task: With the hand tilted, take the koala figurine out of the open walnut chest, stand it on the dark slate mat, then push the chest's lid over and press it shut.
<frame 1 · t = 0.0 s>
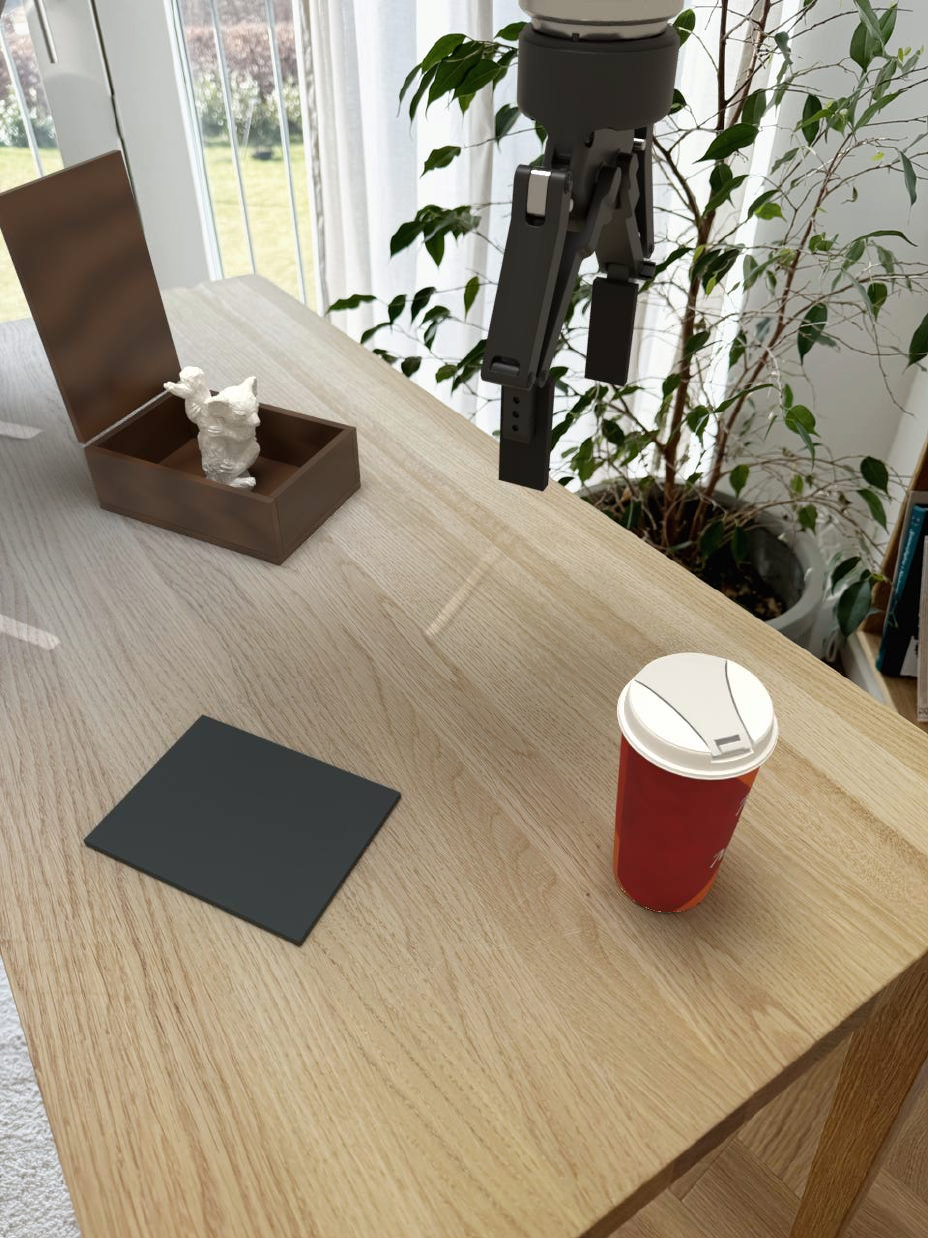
hand: (567, 427, 59), 21 cm above the table, tool pointing down, fingers open, 13 cm apart
chest: (232, 496, 90), on the table
mat: (246, 820, 62), on the table
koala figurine: (231, 490, 90), point 1 cm above the table, touching chest
coffee cup: (660, 872, 59), on the table
beverage can: (139, 389, 106), on the table
chest lid: (99, 299, 83), point 17 cm above the table, hinge at 95.0°
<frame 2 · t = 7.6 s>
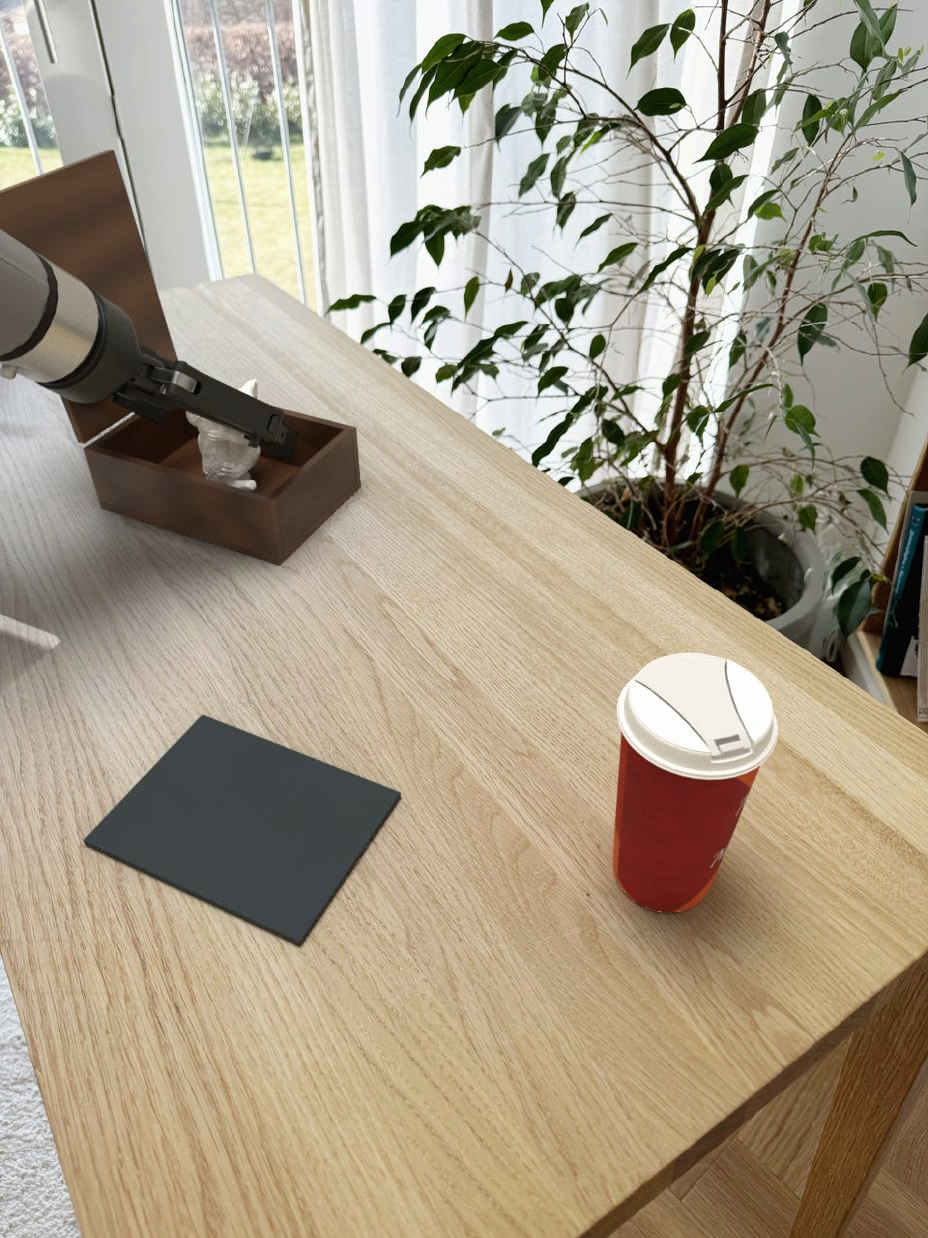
hand: (227, 428, 86), 7 cm above the table, tool tilted 45°, fingers open, 13 cm apart
chest lid: (95, 299, 83), point 17 cm above the table, hinge at 97.1°
everything else where it was.
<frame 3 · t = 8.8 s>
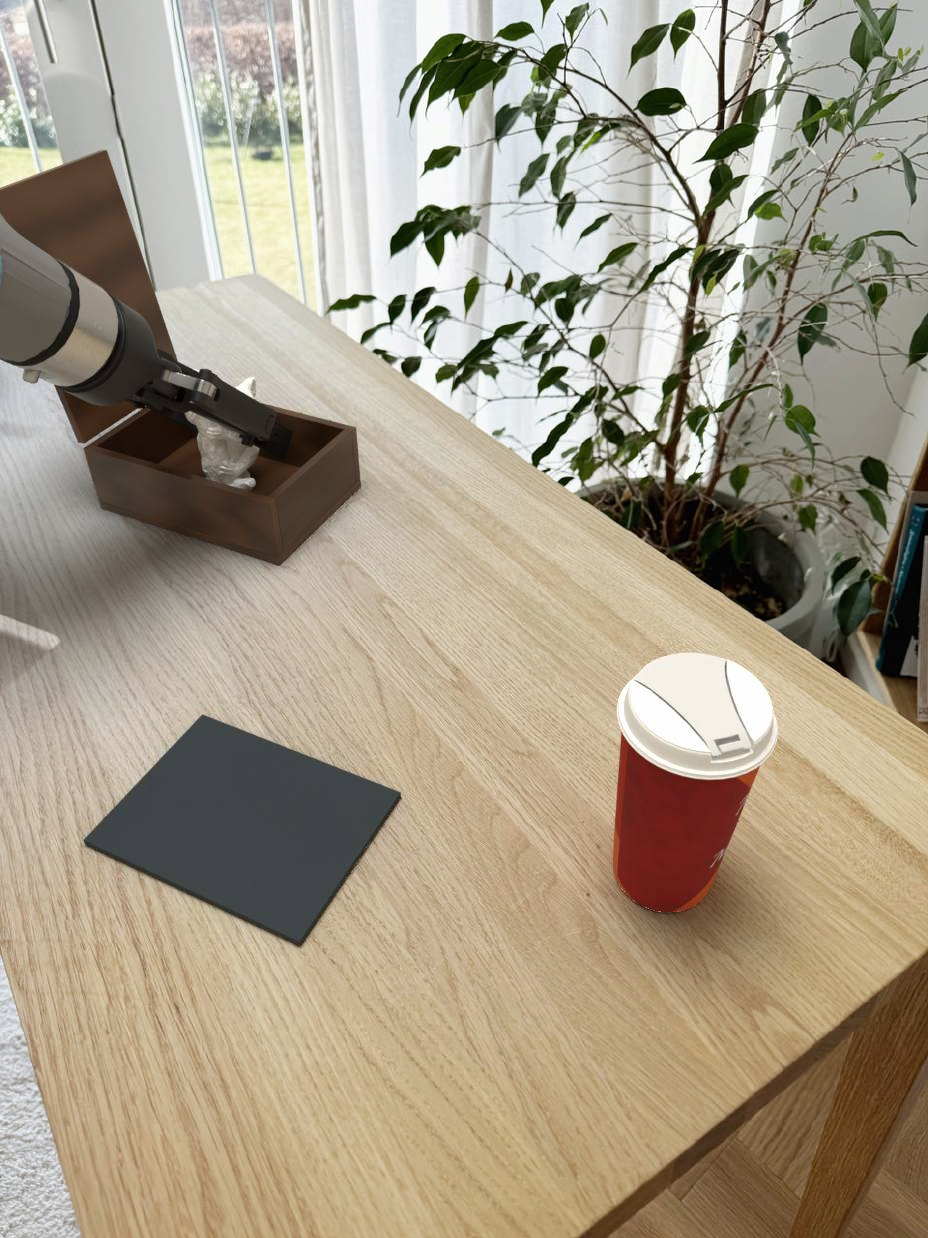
hand: (250, 435, 89), 5 cm above the table, tool tilted 45°, fingers closed on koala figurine, 7 cm apart
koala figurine: (231, 490, 90), point 1 cm above the table, touching chest, gripper
chest lid: (92, 299, 83), point 17 cm above the table, hinge at 99.3°
everything else where it was.
when the fingers open (4 cm above the table, at t = 20.3 s): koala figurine stays where it is, resting on mat.
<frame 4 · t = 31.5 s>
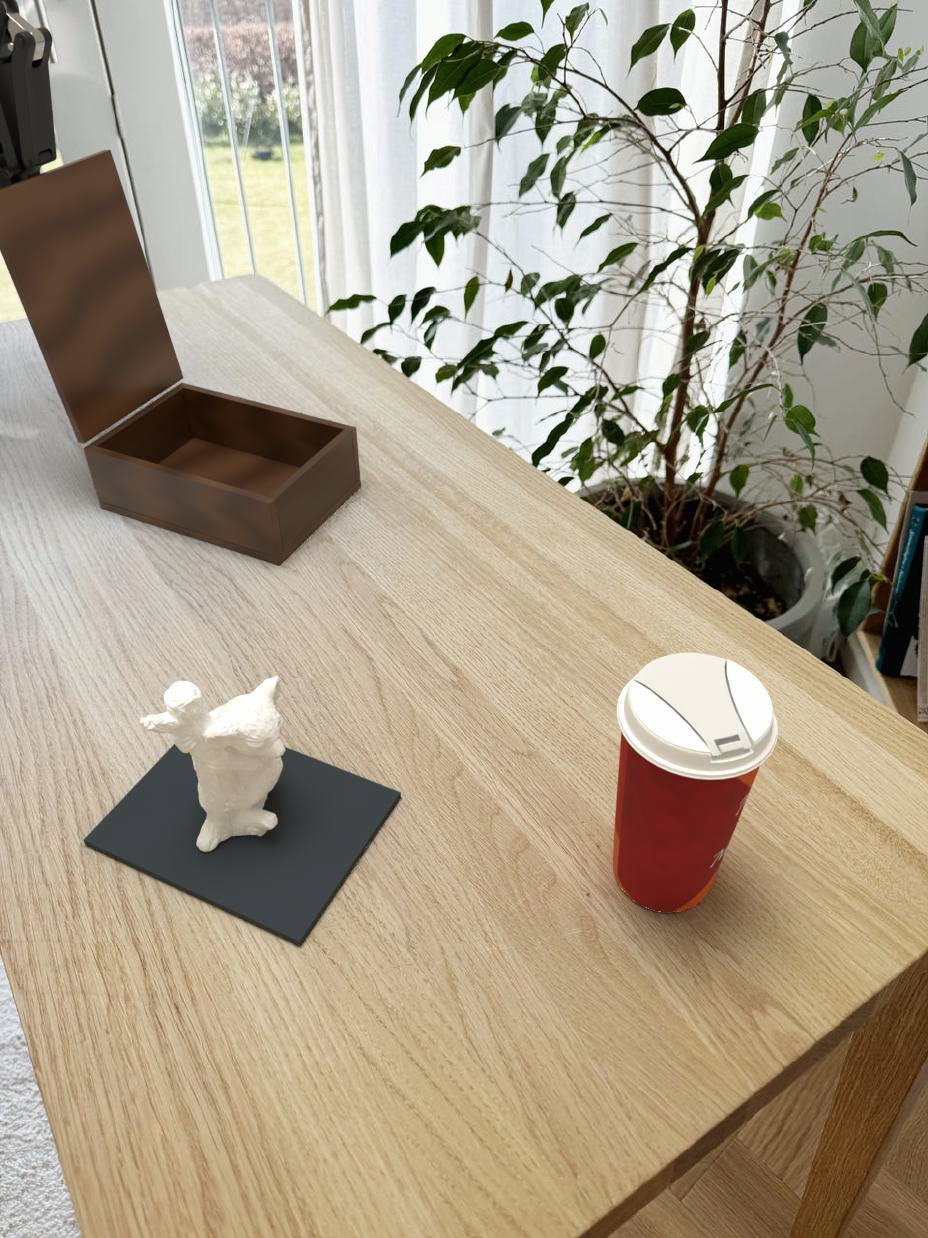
hand: (38, 250, 82), 20 cm above the table, tool pointing down, fingers closed
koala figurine: (240, 816, 62), resting on mat
chest lid: (94, 299, 83), point 17 cm above the table, hinge at 98.1°, touching gripper
everything else where it was.
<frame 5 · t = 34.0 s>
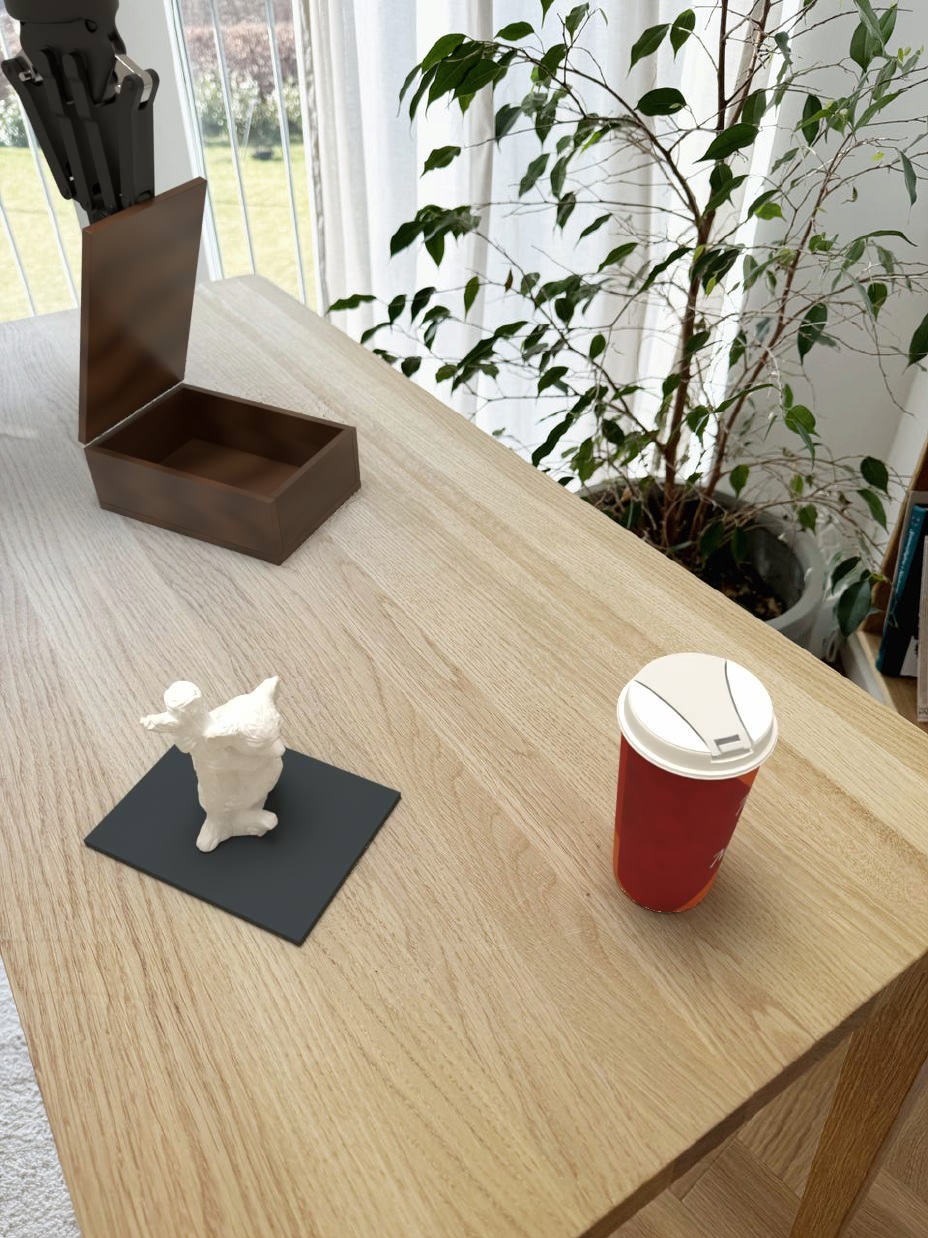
hand: (129, 290, 80), 18 cm above the table, tool pointing down, fingers closed
chest lid: (140, 315, 82), point 16 cm above the table, hinge at 70.3°
everything else where it was.
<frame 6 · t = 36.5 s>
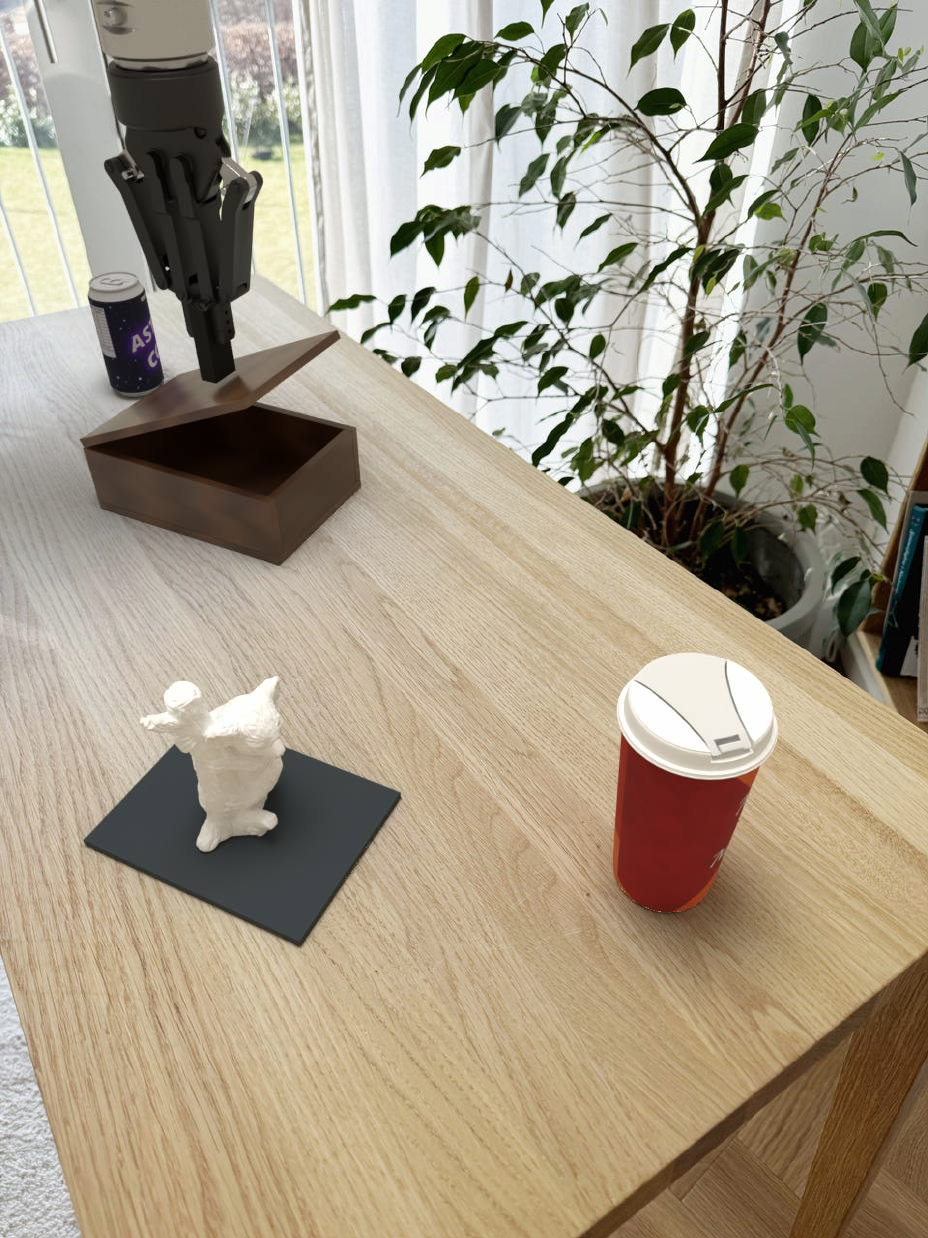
hand: (218, 374, 82), 13 cm above the table, tool pointing down, fingers closed
chest lid: (208, 389, 83), point 11 cm above the table, hinge at 23.8°, touching gripper
everything else where it was.
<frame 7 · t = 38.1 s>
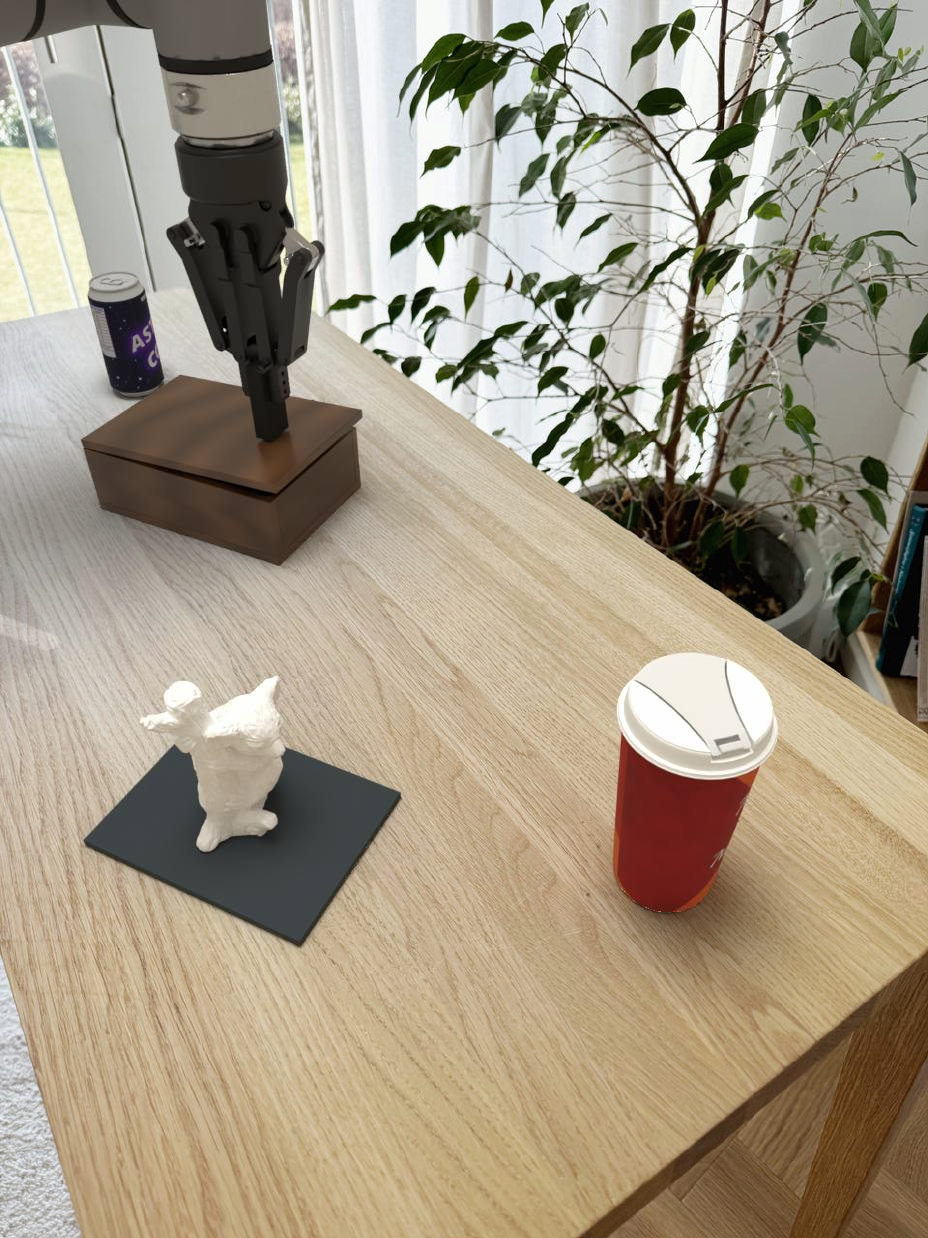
hand: (272, 431, 83), 8 cm above the table, tool pointing down, fingers closed
chest lid: (223, 428, 85), point 7 cm above the table, hinge at 3.1°, touching gripper
everything else where it was.
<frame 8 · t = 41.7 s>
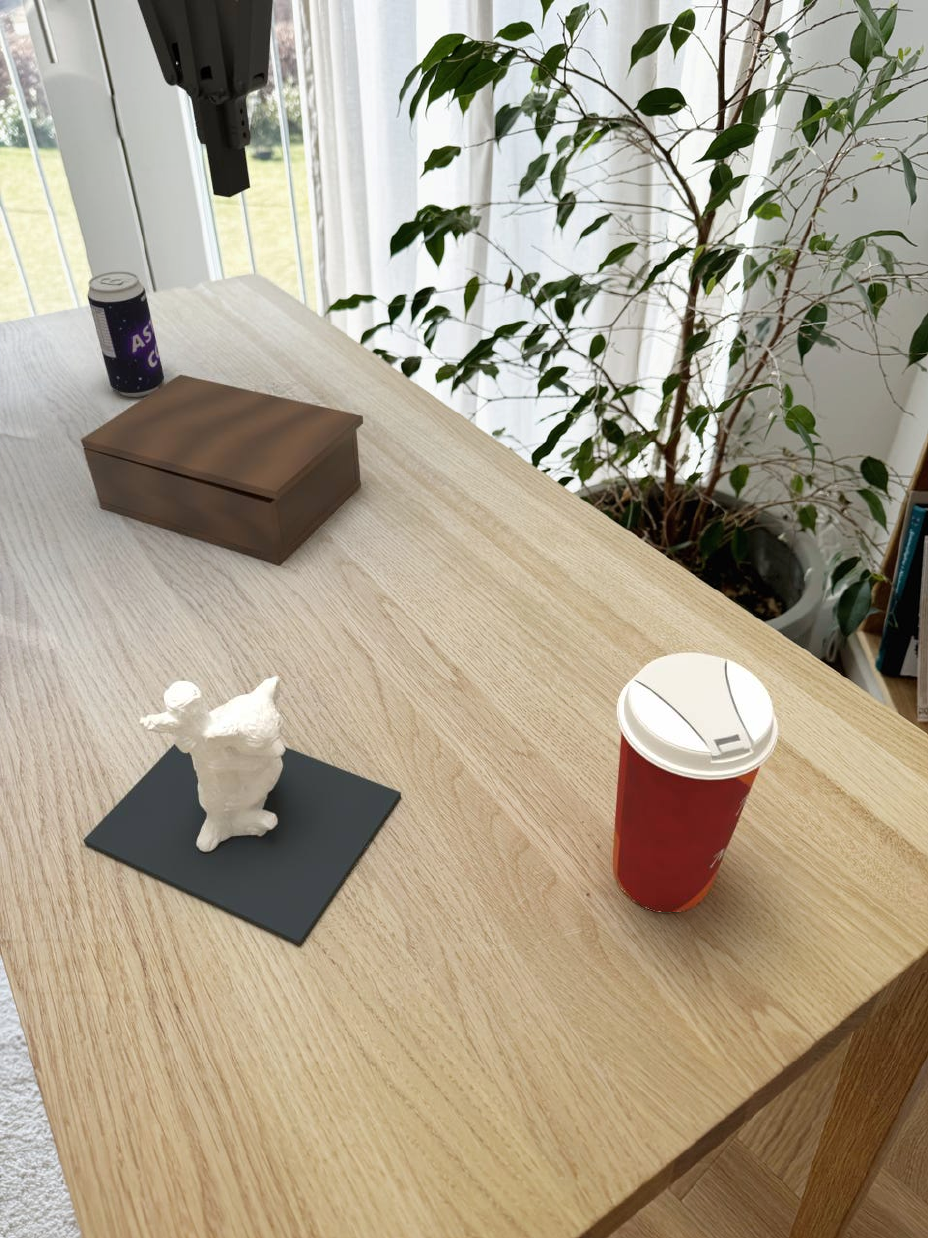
hand: (232, 190, 75), 26 cm above the table, tool pointing down, fingers closed
chest lid: (224, 431, 85), point 7 cm above the table, hinge at 1.4°
everything else where it was.
at the end: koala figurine inside the target area on the mat (0.4 cm from its centre), point 0.3 cm above the mat's base; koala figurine tilted 0°; chest lid at +1° (first picture: +95°) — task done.
